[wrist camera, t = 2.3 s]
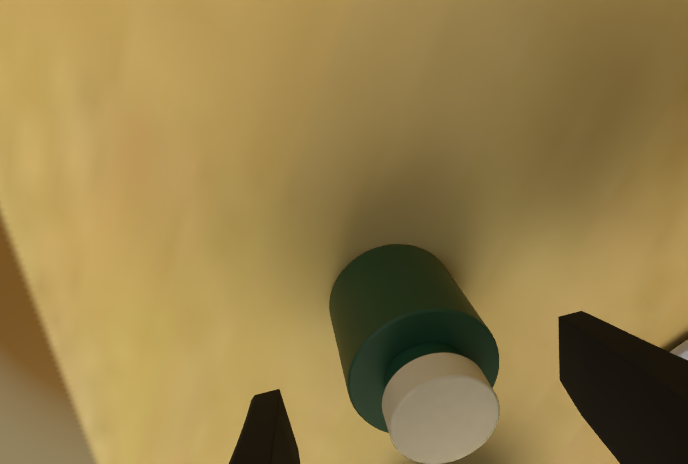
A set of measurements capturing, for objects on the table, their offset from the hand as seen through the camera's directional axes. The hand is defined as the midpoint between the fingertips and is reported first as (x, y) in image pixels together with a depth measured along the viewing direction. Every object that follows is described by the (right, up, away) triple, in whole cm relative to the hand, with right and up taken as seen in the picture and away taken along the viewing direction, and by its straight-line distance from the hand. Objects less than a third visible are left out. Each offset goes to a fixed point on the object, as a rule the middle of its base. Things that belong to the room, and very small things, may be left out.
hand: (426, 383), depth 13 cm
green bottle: (-1, +2, +4) cm, 4 cm away
